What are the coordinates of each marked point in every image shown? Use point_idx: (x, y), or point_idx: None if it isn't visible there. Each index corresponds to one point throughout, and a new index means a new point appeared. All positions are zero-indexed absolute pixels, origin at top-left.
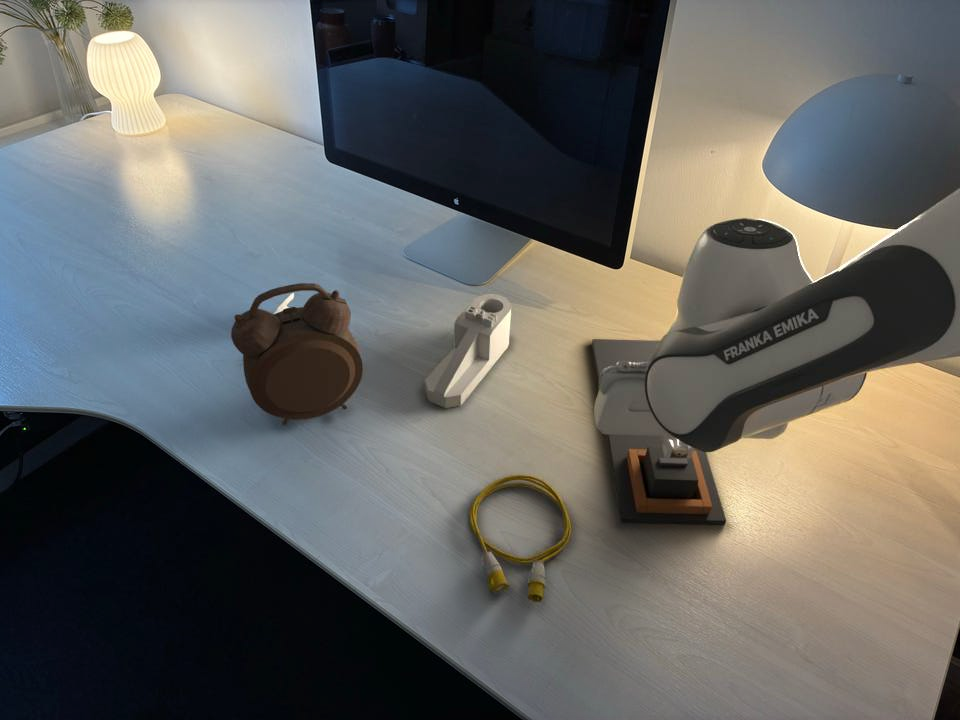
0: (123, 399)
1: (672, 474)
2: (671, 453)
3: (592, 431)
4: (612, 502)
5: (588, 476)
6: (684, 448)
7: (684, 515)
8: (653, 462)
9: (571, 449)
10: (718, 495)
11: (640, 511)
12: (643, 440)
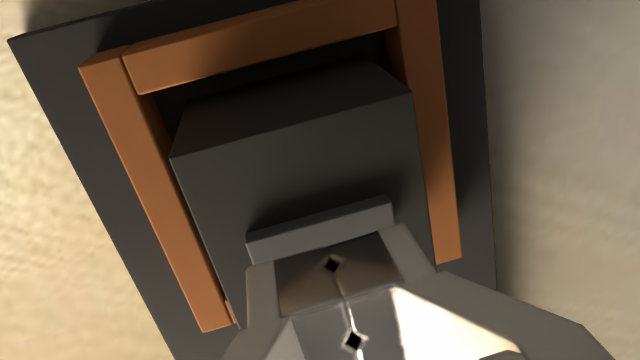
0: None
1: (318, 154)
2: (387, 254)
3: (527, 294)
4: (484, 25)
5: (558, 119)
6: (317, 315)
7: (204, 15)
8: (417, 198)
9: (599, 209)
10: (75, 168)
11: None
12: None
